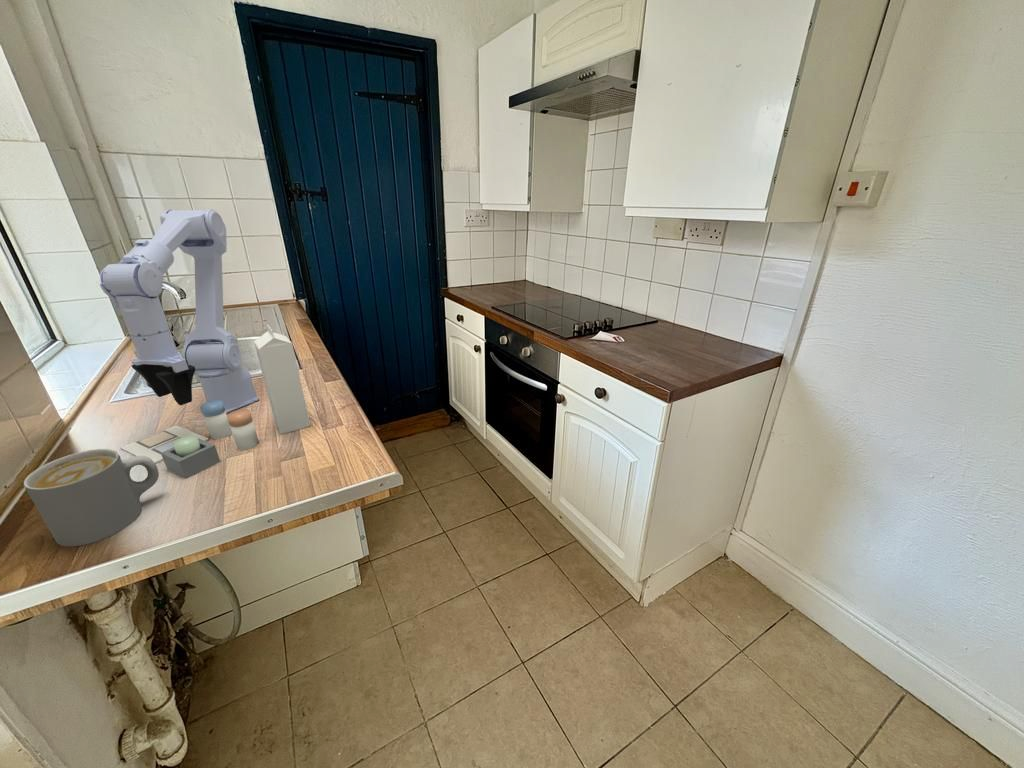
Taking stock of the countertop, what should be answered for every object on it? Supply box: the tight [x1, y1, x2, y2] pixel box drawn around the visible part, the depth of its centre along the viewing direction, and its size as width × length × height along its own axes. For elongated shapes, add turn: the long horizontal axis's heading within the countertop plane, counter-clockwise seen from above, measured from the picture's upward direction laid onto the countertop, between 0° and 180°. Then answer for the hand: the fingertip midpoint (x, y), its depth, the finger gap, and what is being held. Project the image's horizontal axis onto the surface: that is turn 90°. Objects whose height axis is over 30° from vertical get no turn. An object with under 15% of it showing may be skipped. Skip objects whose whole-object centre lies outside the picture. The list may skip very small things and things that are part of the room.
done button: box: [173, 435, 201, 458], centre depth 77 cm, size 4×4×4 cm
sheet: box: [120, 424, 209, 465], centre depth 85 cm, size 10×12×1 cm
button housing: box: [161, 438, 221, 479], centre depth 78 cm, size 6×6×4 cm
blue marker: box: [199, 400, 233, 440], centre depth 87 cm, size 4×4×7 cm
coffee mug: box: [23, 448, 160, 547], centre depth 64 cm, size 13×10×10 cm
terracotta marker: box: [226, 408, 259, 451], centre depth 83 cm, size 4×4×7 cm
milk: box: [253, 324, 311, 435], centre depth 88 cm, size 6×6×22 cm
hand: (174, 398), depth 82 cm, fingers open, 7 cm apart
